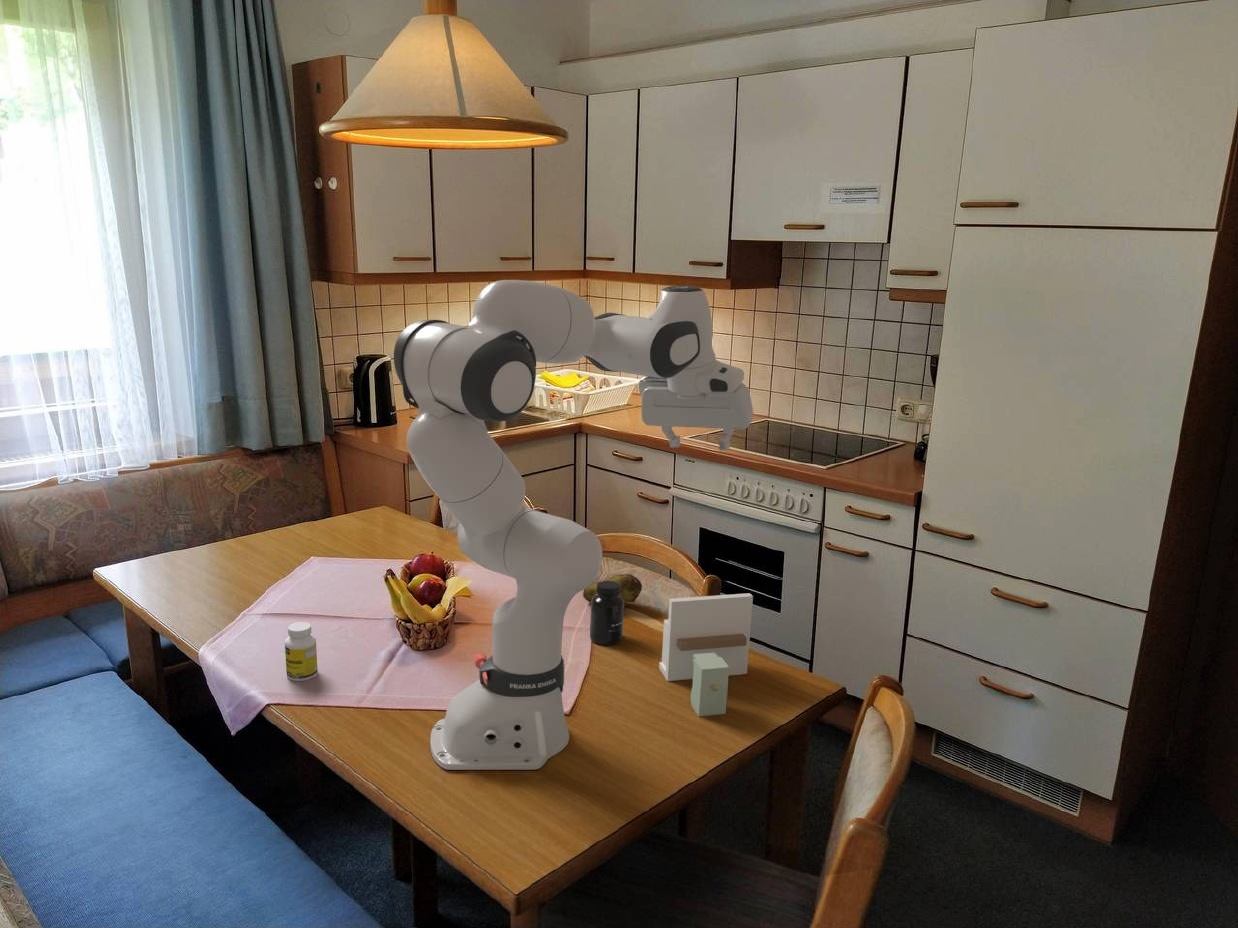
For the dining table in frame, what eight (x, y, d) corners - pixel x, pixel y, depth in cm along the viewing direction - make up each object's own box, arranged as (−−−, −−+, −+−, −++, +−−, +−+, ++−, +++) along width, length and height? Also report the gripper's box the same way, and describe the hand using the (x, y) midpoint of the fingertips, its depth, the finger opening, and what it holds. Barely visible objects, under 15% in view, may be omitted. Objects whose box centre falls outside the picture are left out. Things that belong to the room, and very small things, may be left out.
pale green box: (700, 718, 155) (703, 671, 153) (688, 700, 162) (690, 654, 159) (727, 716, 157) (730, 669, 154) (714, 697, 163) (717, 652, 161)
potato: (600, 593, 208) (601, 560, 206) (646, 607, 201) (648, 574, 199) (578, 604, 202) (579, 570, 200) (625, 619, 195) (626, 585, 193)
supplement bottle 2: (619, 648, 181) (621, 592, 178) (586, 643, 182) (587, 588, 179) (625, 633, 187) (627, 580, 185) (593, 630, 189) (595, 576, 186)
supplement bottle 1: (280, 677, 164) (277, 627, 162) (303, 665, 169) (300, 617, 166) (301, 684, 162) (298, 635, 159) (324, 673, 166) (321, 624, 164)
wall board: (670, 686, 166) (675, 606, 162) (658, 667, 173) (663, 590, 169) (750, 678, 170) (757, 600, 166) (736, 660, 177) (741, 585, 173)
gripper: (630, 381, 158) (640, 452, 164) (742, 383, 150) (748, 457, 156) (643, 369, 164) (653, 438, 169) (752, 370, 155) (758, 442, 161)
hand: (699, 447), depth 162 cm, fingers open, 8 cm apart
